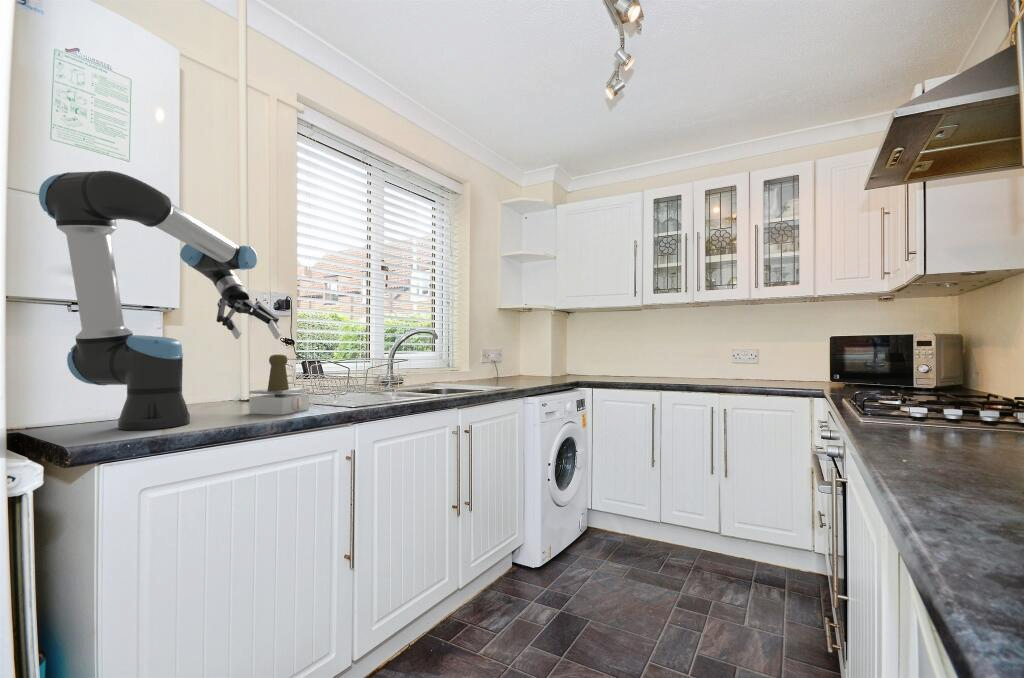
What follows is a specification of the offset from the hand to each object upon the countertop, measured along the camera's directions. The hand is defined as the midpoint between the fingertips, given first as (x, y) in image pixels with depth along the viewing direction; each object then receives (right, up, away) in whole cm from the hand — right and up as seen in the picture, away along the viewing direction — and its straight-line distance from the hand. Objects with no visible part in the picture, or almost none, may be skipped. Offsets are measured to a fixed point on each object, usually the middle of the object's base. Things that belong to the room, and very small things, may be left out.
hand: (259, 336), depth 158 cm
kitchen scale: (+9, -24, -6) cm, 26 cm away
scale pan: (+9, -17, -5) cm, 21 cm away
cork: (+9, -17, -6) cm, 20 cm away
